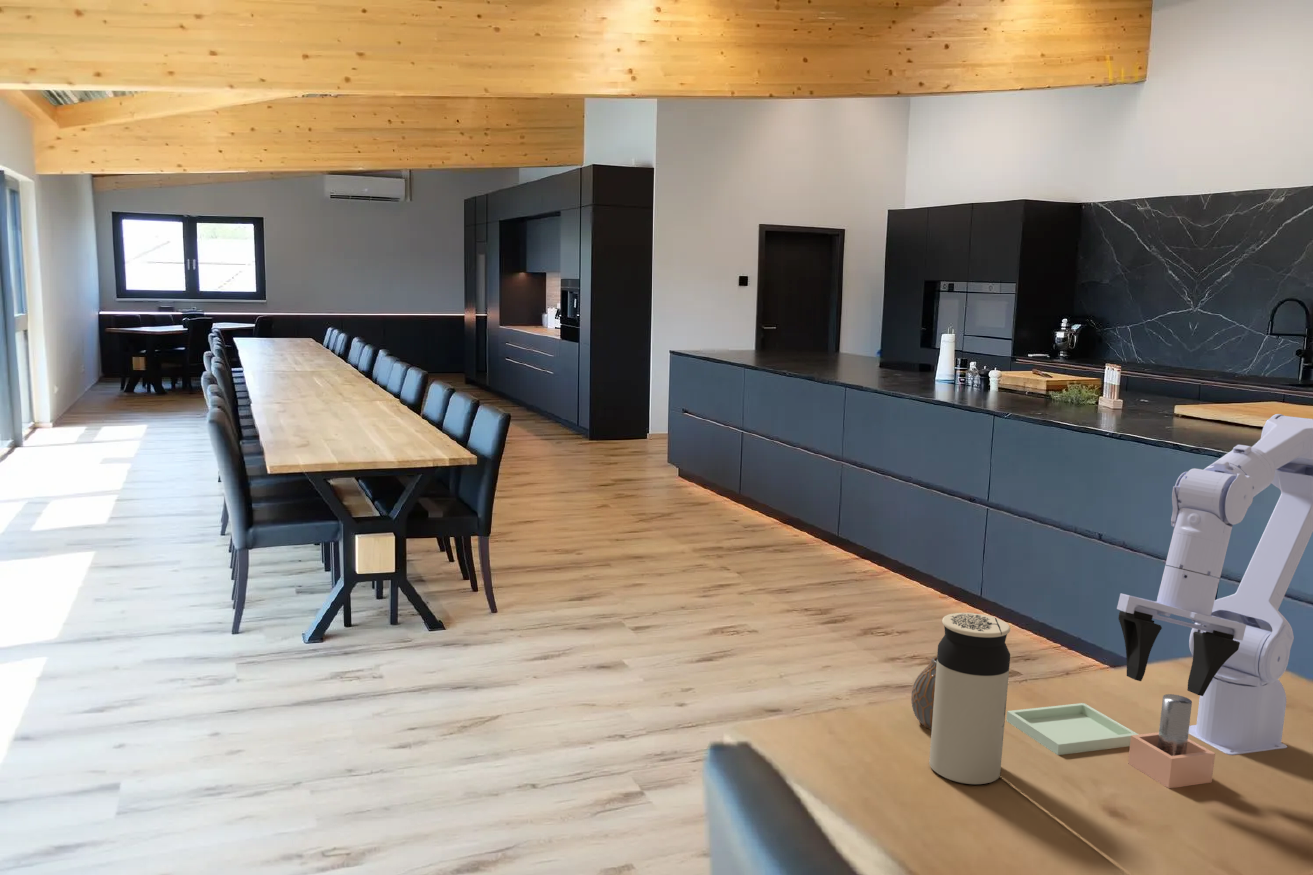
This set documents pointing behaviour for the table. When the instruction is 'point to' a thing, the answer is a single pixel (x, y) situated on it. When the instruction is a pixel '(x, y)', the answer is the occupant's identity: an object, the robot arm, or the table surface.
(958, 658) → the travel mug
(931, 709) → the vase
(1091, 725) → the tray
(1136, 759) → the salmon open box
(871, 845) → the table surface
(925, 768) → the table surface
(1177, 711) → the dowel
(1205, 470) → the robot arm
